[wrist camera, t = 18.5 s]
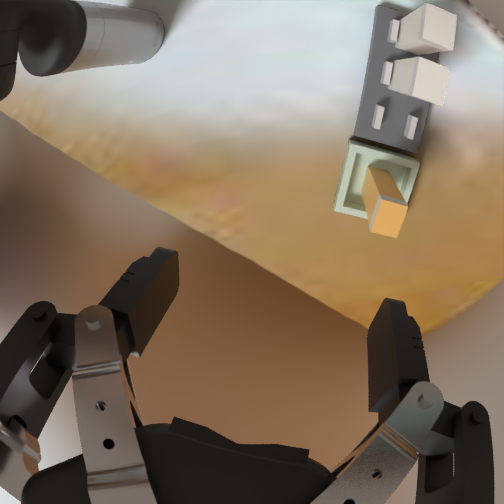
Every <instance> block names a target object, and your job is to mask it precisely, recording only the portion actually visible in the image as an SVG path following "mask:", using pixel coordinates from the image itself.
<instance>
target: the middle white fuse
mask: <svg viewBox="0 0 504 504" xmlns="http://www.w3.org/2000/svg"><path fill="white" fill-rule="evenodd" d="M392 63H393V67H392V73H391V78H390V84H389V85H388V89H390V90H393V91H396V92H399V93H402V94H405V95H408V96H412V97H415V98H418V99H421V100H424V101H427V102H431V103H434V104H436V105H439V106H442V107H443V103H444V98H445V93H446V88H447V83H448V78H449V73H450V69H449V68H447V67H445V66H442V65H440V64H438V63H435V62H433V61H430V60H427V59H425V58H422V57H414V58H407V59H401V60H395V61H393V62H392Z"/></svg>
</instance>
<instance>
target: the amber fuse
mask: <svg viewBox="0 0 504 504" xmlns="http://www.w3.org/2000/svg"><path fill="white" fill-rule="evenodd" d="M361 194H362V197H363V201H364V205H365V209H366V214H367V218H368V222H369V228H370V231H371V232H374V233H378V234H382V235H386V236H390V237H394V238H397V236H398V233H399V231H400V228H401V225H402V223H403V220H404V217H405V215H406V212H407V209H408V205H407V203H406V201H405V199H404V198H403V196H402V194H401V192H400V190H399V188H398V187H397V185H396V183H395V181H394V180H393V178H392V176H391V174H390V173H389V171H385V170H382V169H378V168H375V167H371V166H368V167H367V171H366V174H365V178H364V182H363V185H362V189H361Z"/></svg>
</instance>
